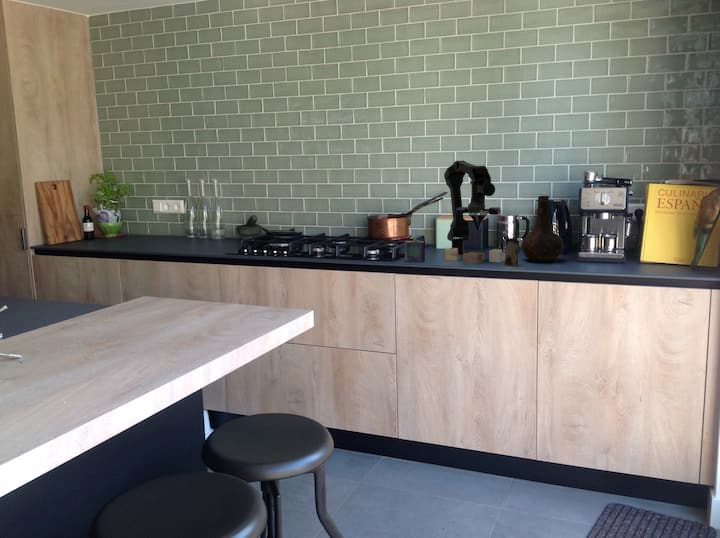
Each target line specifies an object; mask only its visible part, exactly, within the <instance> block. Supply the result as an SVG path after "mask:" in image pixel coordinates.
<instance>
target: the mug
mask: <svg viewBox="0 0 720 538" xmlns="http://www.w3.org/2000/svg"><path fill="white" fill-rule="evenodd" d="M504 238H505V240H504ZM504 241H505V252H504V251H503V250H504ZM518 242H519V241H518V239H517V238H512V237H511V238H510V237H508V236H507V235H504V236H501V237H500V246H501V247H500V248H501V249H502V252H503V253H505V261H504V267H517V266H518V265H519V243H518Z"/></svg>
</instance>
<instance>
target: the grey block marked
mask: <svg viewBox="0 0 720 538" xmlns="http://www.w3.org/2000/svg"><path fill="white" fill-rule="evenodd" d="M503 251H504V252H506V249H503ZM488 253H489V254H488V255H489V256H488V257H489V258H488V261H489V262H491V263H498V264H499V263H502V262H505V253H503V252H502V249H500V248H493V249H490V250H489V252H488Z"/></svg>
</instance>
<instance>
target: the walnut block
mask: <svg viewBox="0 0 720 538" xmlns="http://www.w3.org/2000/svg"><path fill="white" fill-rule="evenodd" d="M484 262H486V252H478V251H469V252H465V253H463V254H462V263H463V264H464V263H465V264H471V265H472V264H474V265H477V264H478V265H479V264H481V263H484Z"/></svg>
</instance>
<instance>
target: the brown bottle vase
mask: <svg viewBox="0 0 720 538" xmlns="http://www.w3.org/2000/svg"><path fill="white" fill-rule="evenodd" d="M549 198H550V196H549V195H539V196H538V197H537V199H536V200H535V201H536V202H537V212H536V217H535V218H536V219H535V223H534V228H533V230H532V231H531V232H530V233H528V234H526V236H525V237H524V238H523V239H522V241H521V251H522V253H523V255H524V256H525V257H526V258H527V259H528V260H529V261H532V262H536V263H537V262H540V263H545V262H553V261H555V260H557V259H558V258H559V257H560V256H561V255H562V253H563V251H564V250H565V249H564V248H565V244H564V243H565V242H564V240H563V238H562V237H561V236H560V235H559V234H557V233H554V232H553V231H552V229H551V225H550V213H549V202H551V199H549Z"/></svg>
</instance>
